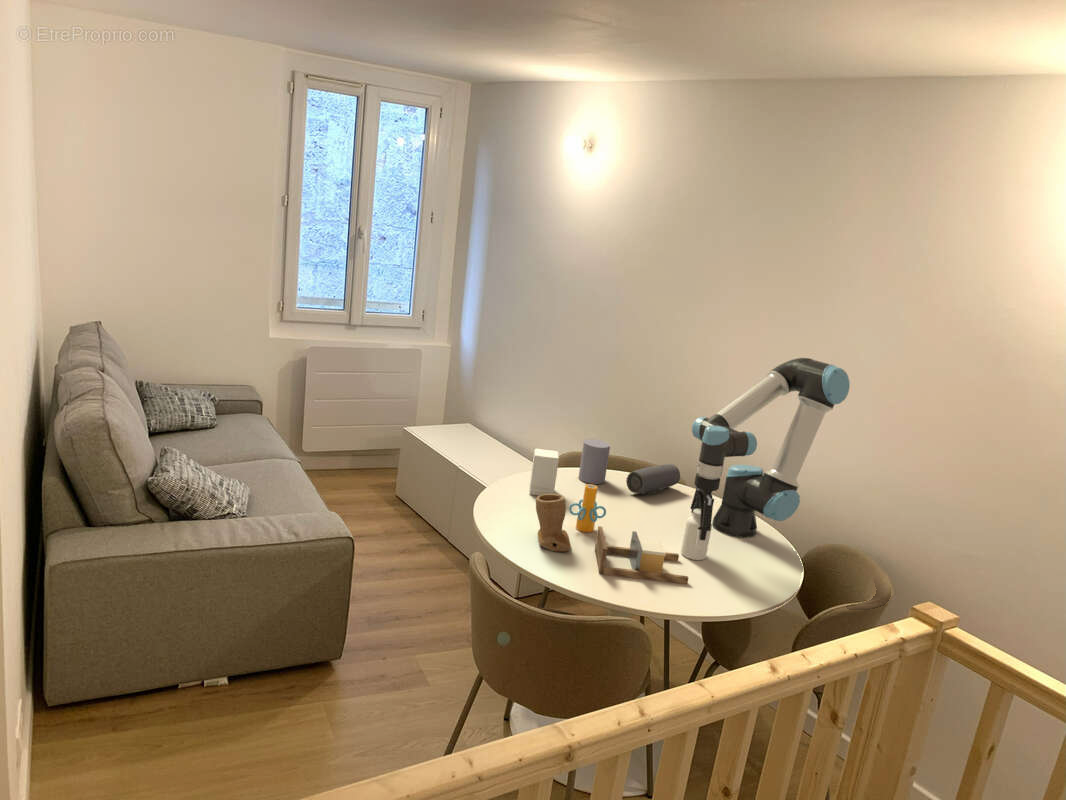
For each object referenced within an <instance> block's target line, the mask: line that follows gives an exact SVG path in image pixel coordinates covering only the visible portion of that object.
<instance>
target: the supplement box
mask: <svg viewBox="0 0 1066 800" xmlns="http://www.w3.org/2000/svg"><path fill="white" fill-rule="evenodd" d="M559 456H560V455H559V451H557V450H552V449H551V450H549V449H543V448H535V449H534V451H533V460H532V466H531V467H532V468H531V474H530V475H531V476H530V482H529V492H528V493H529V495H532V496H540V495H543V494H555V488H556V487H555V486H556V481H557V476H558V475H557V474H558V469H559V460H560V457H559Z"/></svg>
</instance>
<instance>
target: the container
mask: <svg viewBox="0 0 1066 800" xmlns="http://www.w3.org/2000/svg"><path fill="white" fill-rule="evenodd" d="M610 449H611V444H610V443H609V442H607V441H604V440H601V439H595V438H594V439H593V438H589V439H588V438H587V439H584V441H583V445H582V453H581V458H580V464H579V473H578V479H579V480H580V481H581V482H584V483H587V484H592V485H600V484H604V483H605V482H606V481H605V480H606V474H607V469H608V463H609V456H610Z"/></svg>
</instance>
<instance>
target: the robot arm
mask: <svg viewBox="0 0 1066 800" xmlns="http://www.w3.org/2000/svg"><path fill="white" fill-rule="evenodd" d="M850 382H851V381H850V379H849V375H848V373H847V371H845V370H844V369H843V368H841V367H838V366H836V365H834V364H829V363H826V362H822V361H818V360H815V359H812V358H809V357H797V358H794V359H790V360H788V361H786V362H782V363H781V364H779V365H778V366H776V367H774V368H772V369H771V370H769V371H768V372H767V373H766V377H765V378H763V379H762V380H760V381H759V382H758V383H756V384H755V385H754V386H751V388H750V389H748V390H747V391H745V392H744V393H742V394H741V395H740V396H739V397H736V399H734V400H733V401H731V402H730V403H729V404H727V405H726V406H724V407H723V408H721V409H720V410H718V411H717V412H716V413H715V414H713V415H712V416H710V417H704V416H700V417H698V418H696V419H695V420H694V421H693V423H692V426H691V432H692V435H693V437H694V438H696V439H697V440H699V441H701V447H700V451H699V458H698V463H696V464H695V466H696V468H697V469H696V472H697V473H696V474H695V477H694V486H695V490H694V495H693V498H692V501H691V505H690V510H691V514H690V517H692V515H693V510H694V509H701V517H700V527H698V535H697V540H696V545H695V548H696V549H704V548H705V543H706V538H707V533H708V531H710V530H711V531H712V529H711V523H712V528H714V529H716V530H717V531H719V532H720V533H723V534H724V535H728V536H732V537H737V538H751V537H754V536H755V535H756V534H757V529H758V524H757V517H756V512H757V513H759V514H762V515H763V516H764V517H765V518H769V519H770V520H773V521H776V522H782V521H783V522H784V521H786V520H788V519H789V518H791V517H792V516H793V515H794V514H795V512H797V510H798V508H799V506H800V503H801V500H800V498H801V497H800V494H799V492H797V491H798V489H799V484H798V481H797V479H798V477H799V474H800V472H801V470H802V468H803V465H804V463H805V461H806V458H807V457H808V454H809V451H810V449H811V447H812V445H813V442H814V440H815V438H816V435H817V433H818V431H819V429H820V426H821V424H822V422H823V420H824V417H825V416H826V413H828V412H831V411H832V410H833V408H834V407H835V405H839V404H841V403H843V402H844V401H845V400H846V398H847V397H848V395H849V393H850V392H849V391H850V387H851V386H850ZM791 392H798V394H797V398H798V401H799V404H798V407H797V409H796V411H795V413H794V415H793V418H792V420H791V422H790V424H789V427H788V430H787V431H786V434H785V437H784V439H783V442H782V444H781V446H780V448H779V450H778V453H777V455H776V457H775V459H774V462H773V464H772V467H771V468H770V469H768V470H766V471H765V470H763V468H761V467H759V466H755V465H749V464H734V465H731V466H729V468H728V470H727V474H726V477H725V483H724V488H723V489H724V490H723V494H722V500H721V504H720V506H719V508H718V510H716V512H715V515H714V516H713V509H714V503H715V498H713V494H712V492H716V491H718V490H719V488H720V483H721V477H722V474H723V469H724V463H725V458H731V457H747V456H751V455H753V454H754V453H755V452H756V451H757V447H758V441H757V438H756V436H755V434H753V433H752V432H750V431H738V430H737V429H736V428H737V427H738V426H740V425H741V424H743V423H744V422H746V421H747V420H748V419H750V418H751V417H753V416H754V415H755V414H757V413H758V412H759V411H761V410H762V409H763V408H765V407H766V406H768V405H769V404H770V403H772V402H773V401H774V400H776V399H777V398H779V397H780V396H782V397H783V396H786V395H788V394H789V393H791ZM712 517H713V518H712Z"/></svg>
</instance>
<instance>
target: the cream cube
mask: <svg viewBox="0 0 1066 800" xmlns="http://www.w3.org/2000/svg"><path fill="white" fill-rule="evenodd" d="M639 541H640V544H641V547H642V556H641V562H640V567H639V571H648V572H656V573H663V567H664V562H665V560H664V557H665V554H666V550H665V547H664V545H663V542H657V541H652V540H651V541H649V540H642V539H639Z"/></svg>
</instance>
